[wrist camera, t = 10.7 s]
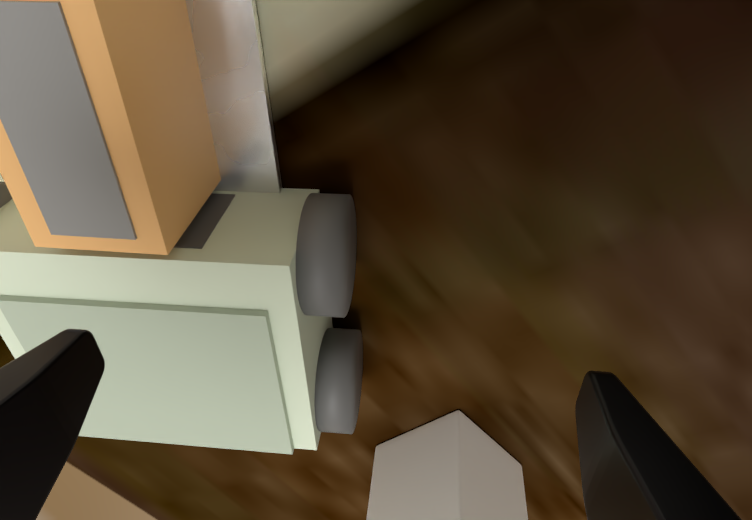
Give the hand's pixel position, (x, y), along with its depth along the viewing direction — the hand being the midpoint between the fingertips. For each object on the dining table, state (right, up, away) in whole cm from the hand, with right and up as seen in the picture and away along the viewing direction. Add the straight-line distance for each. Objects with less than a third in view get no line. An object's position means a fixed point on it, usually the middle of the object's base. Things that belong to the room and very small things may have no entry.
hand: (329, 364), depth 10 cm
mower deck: (-7, +1, +15) cm, 17 cm away
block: (-7, +8, +9) cm, 15 cm away
